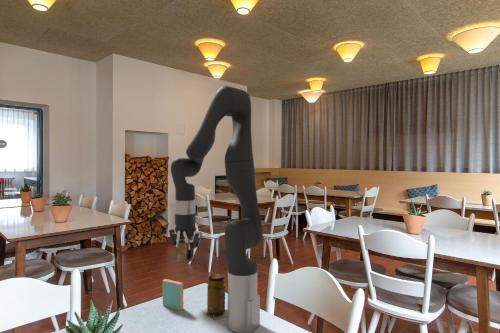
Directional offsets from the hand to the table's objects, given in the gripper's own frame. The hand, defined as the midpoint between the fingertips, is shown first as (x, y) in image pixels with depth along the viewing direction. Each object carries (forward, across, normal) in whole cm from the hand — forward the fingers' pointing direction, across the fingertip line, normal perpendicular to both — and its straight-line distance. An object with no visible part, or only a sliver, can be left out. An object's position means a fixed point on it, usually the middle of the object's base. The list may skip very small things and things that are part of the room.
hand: (185, 258), depth 119 cm
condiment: (+16, -16, +3) cm, 23 cm away
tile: (+16, 0, +7) cm, 17 cm away
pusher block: (+1, 0, 0) cm, 1 cm away
